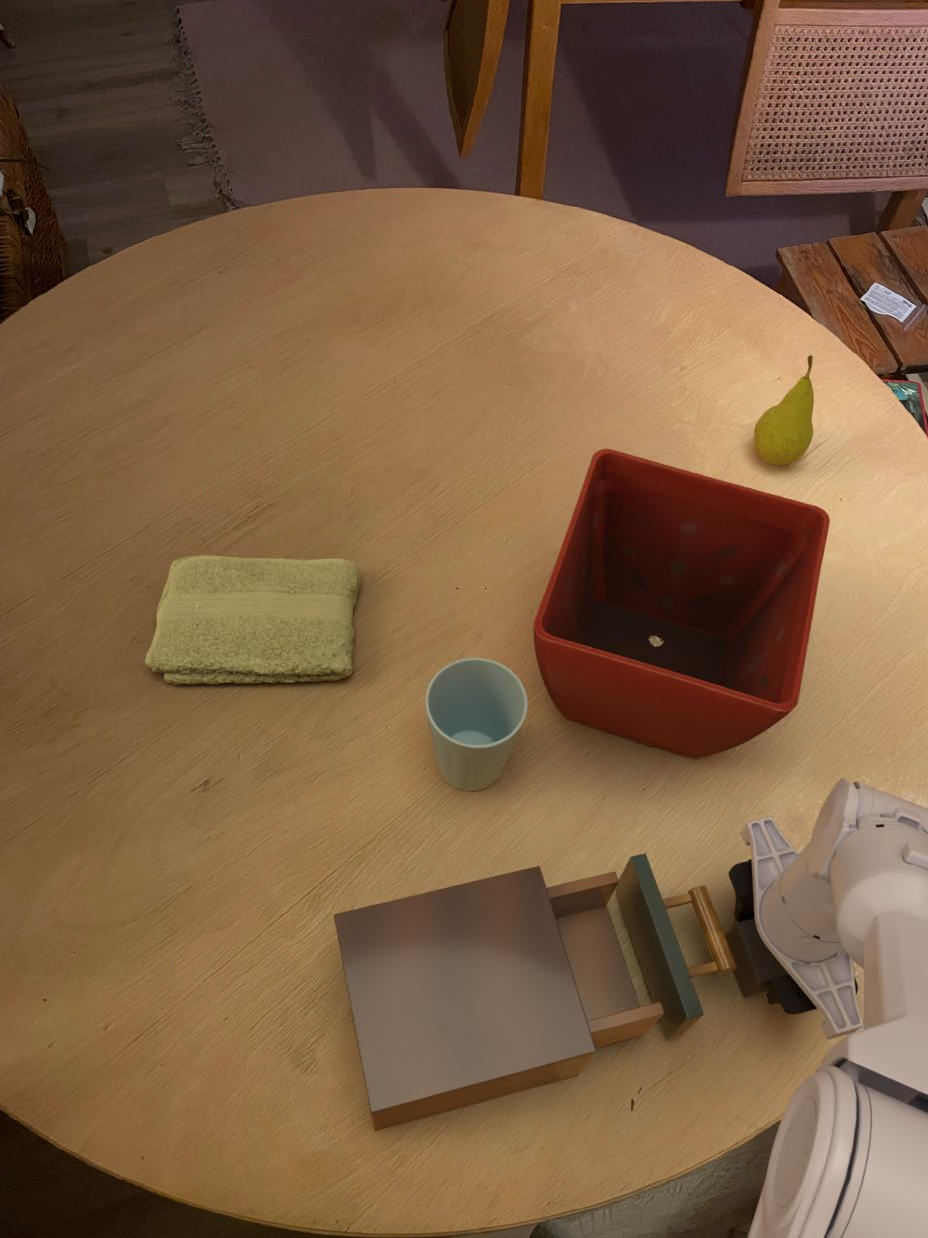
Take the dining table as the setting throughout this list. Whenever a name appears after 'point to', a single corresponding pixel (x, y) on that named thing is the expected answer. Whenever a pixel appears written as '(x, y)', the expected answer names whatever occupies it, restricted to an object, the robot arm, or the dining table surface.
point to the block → (752, 959)
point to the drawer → (654, 941)
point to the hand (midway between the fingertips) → (763, 956)
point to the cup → (474, 720)
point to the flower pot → (679, 606)
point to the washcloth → (255, 620)
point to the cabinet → (461, 996)
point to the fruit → (787, 424)
